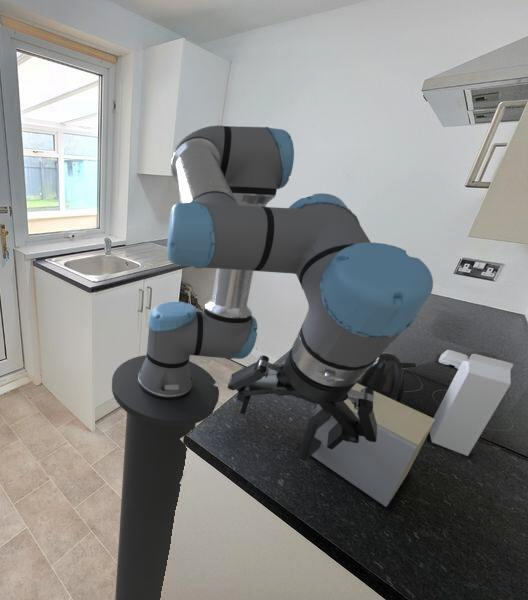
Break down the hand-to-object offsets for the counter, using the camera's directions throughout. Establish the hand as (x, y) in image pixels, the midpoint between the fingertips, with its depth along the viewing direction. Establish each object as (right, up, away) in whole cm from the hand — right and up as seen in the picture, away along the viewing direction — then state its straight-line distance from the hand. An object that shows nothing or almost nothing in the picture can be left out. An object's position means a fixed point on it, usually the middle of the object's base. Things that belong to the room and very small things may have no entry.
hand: (284, 423), depth 53 cm
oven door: (+13, -14, +6) cm, 20 cm away
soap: (+81, +1, +54) cm, 98 cm away
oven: (+20, -12, +11) cm, 26 cm away
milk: (+46, -12, +18) cm, 51 cm away
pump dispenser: (+38, -7, +29) cm, 48 cm away
